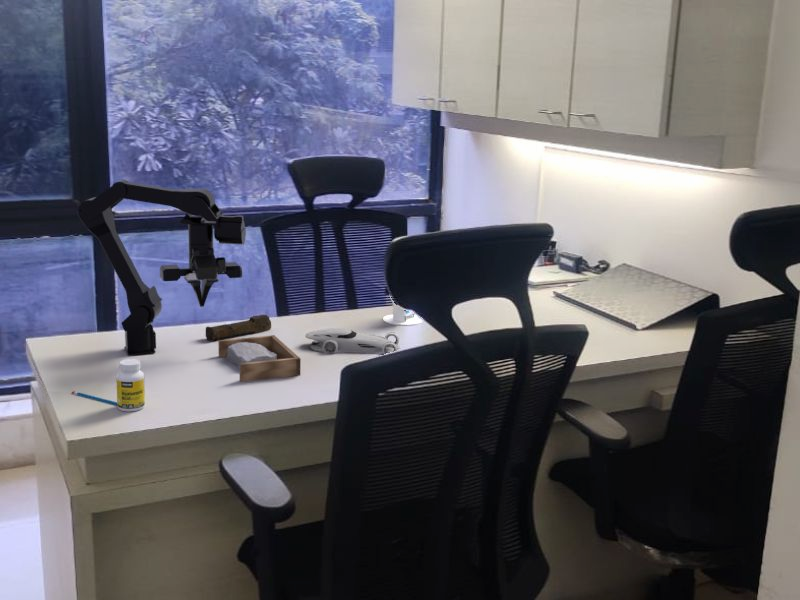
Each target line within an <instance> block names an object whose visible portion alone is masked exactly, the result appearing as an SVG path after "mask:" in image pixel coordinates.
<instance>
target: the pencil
mask: <svg viewBox="0 0 800 600" xmlns="http://www.w3.org/2000/svg"><path fill="white" fill-rule="evenodd" d="M71 395H75V396H80V397H82V398H83V397H84V398H88V399H91V400H95V401H98V402H102V403H106V404H109V405H114V406H117V401H113V400H109V399H106V398H101V397H98V396H94V395H91V394H90V395H89V394H86V393H83V392H78V391H76V390H75V391H74V390H72V391H71Z"/></svg>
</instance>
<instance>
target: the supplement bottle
mask: <svg viewBox="0 0 800 600" xmlns="http://www.w3.org/2000/svg"><path fill="white" fill-rule="evenodd" d="M140 369H141V361H140V360H138V359H134V358H128V359H123V360H121V361H120V362H119V370H120V371H118V372H117V374H116V378H115V379H116V400H117V401H116V402H117V405H116V406H117V409H118V410H119V411H122V412H127V413H128V412H137V411H140V410H142V409H144V408H145V406H146V405H145V403H146V402H145V395H146V394H145V393H146V392H145V391H146V390H145V374H144V371H142V370H140Z"/></svg>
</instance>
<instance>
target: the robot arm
mask: <svg viewBox="0 0 800 600" xmlns="http://www.w3.org/2000/svg"><path fill="white" fill-rule="evenodd" d="M124 199H125V200H130V201H131V200H132V201H136V202H142V203H147V204H149V203H150V204H156V205H162V206H166V207H167V206H168V207H172V208H175V209H177V210H179V211H180V212H183V213H185V215H184V216H183V218H182V219H181V220H179V221H178V223H179V224H180V225H187V227H188V228H187V229H188V230H187V231H188V233H187V234H188V267H181V268H180V267H179V266H178V264H162V265H161V266H160V267H159V277H160V278H161V280H162V281H163V282H177V281H179V279H181V277H183V279H184V281H185V282H187V283H188V284H190V285H191V287H192V289H193V291H194V295H195V297H196V300H197V302H198V305H199V307H201V308H202V307H204V306H205V304H206V300H207V297H208V295H209V293H210V290H211V288H212V286H213V285H214V284H215V283H219V279H218V275H226V276H227V277H228V278H229V279H240V278H243V268H242V267H241V265H239V263H237V262H235V261H234V262H233V261H230V262H227V261H226V258H225V257H222V256H221V257H219V256H218V257H215V251H214V239H215V241H217V242H218V243H219V244H221V245H223V244H224V245H225V244H226V245H245V242H246V233H247V228H246V224H245V221H244V215H239V214H238V215H224V213H223V212H222V211H221V209H220V208H219V206H218V205H217V204H216V202H215V200H216V199H215V197H214V194H213V193H212V191H210V190H209V189H207V188H184V189H183V188H182V189H179V188H178V189H175V188H169V187H163V186H156V185H150V184H145V183H144V184H143V183H138V182H133V181H132V182H131V181H128V180H126V179H122V180H119V181H116V182H114V183H113V184H112V185H111V186H110V187H109V188H107V189H106V190H104V191H103V192H101V193H100V194H98V195H97V196H95V197H91V198H88V199H86V200H84V201H82V202H81V203H80V204H79V205H78V208H77V211H76V212H77V217H78V219H80V221H81V222H82V224H83V225H84V226H85V228H86V229H87V230H88V231H89V232H90V233H91V234H92V235H94V237H96V238H97V240H98V241H99V244H100V245H101V247H102V249H103V251H104V253H105V254H106V257H107V259H108V261H110V264H111V266H112V268H113V269H114V272H115V274H116V275H117V277H118V279H119V281H120V283H121V285H122V287H123V289H124V290H125V293H126V294H125V295H126V302H127V306H128V307H127V308H128V309H129V313H130V314H129V315H128V316H127V317H126V318H125V319H124V320H123V321H122V322H121V326H122V329H123V331H124V339H125V340H124V341H125V346H124V348H123V349H124V351H125V352H126V355H128V356H137V355H149V354H155V353H156V349H157V336H156V334H157V333H156V331H155V330H154V326H153V325H152V324H153V323H154V320H155V319H156V318H157V317H158V316H159V315H160V313H161V311H162V308H163V305H162V301H163V298H162V297H160V295H159V294H158V290H157V288H156V286H155V285H153V286H151V287H148V286H147V284H145V283H144V281H143V279H142V278H141V276H140V274H139V272H138V270H137V268H136V266H135V264H134V262H133V260H132V259H131V256H130V255H129V252H128V251H127V249H126V247H125V245H124V243H123V242H122V240H121V237H120V235H119V234H118V232H117V229H116V224H115V222H116V221H115V216H114V214H113V210H112V209H113V208H114V207H116V206H117V205H118V204H120V202H121V203H122V201H123V200H124Z"/></svg>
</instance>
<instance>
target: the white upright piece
mask: <svg viewBox="0 0 800 600" xmlns="http://www.w3.org/2000/svg"><path fill="white" fill-rule="evenodd" d="M389 297H390V301H391V302H392V314H388V315H385V316H384V317H382V318H383V319H382V320H383V322H385V323H386V324H389V325H392V326H393V325H395V326H406V327H407V326H409V327H410V326H416V325H420V324H422V323H423V322H424V320H423V321H422V320H421V319H419V318H418V317H417V316H418V315H415V313H414V314H413V313H411V312H409V311H406V310H403V309H401V308H400V307H398V306H397V305H396V304H395V303H394V301H393V300H392V298H391V296H390V295H389Z"/></svg>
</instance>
